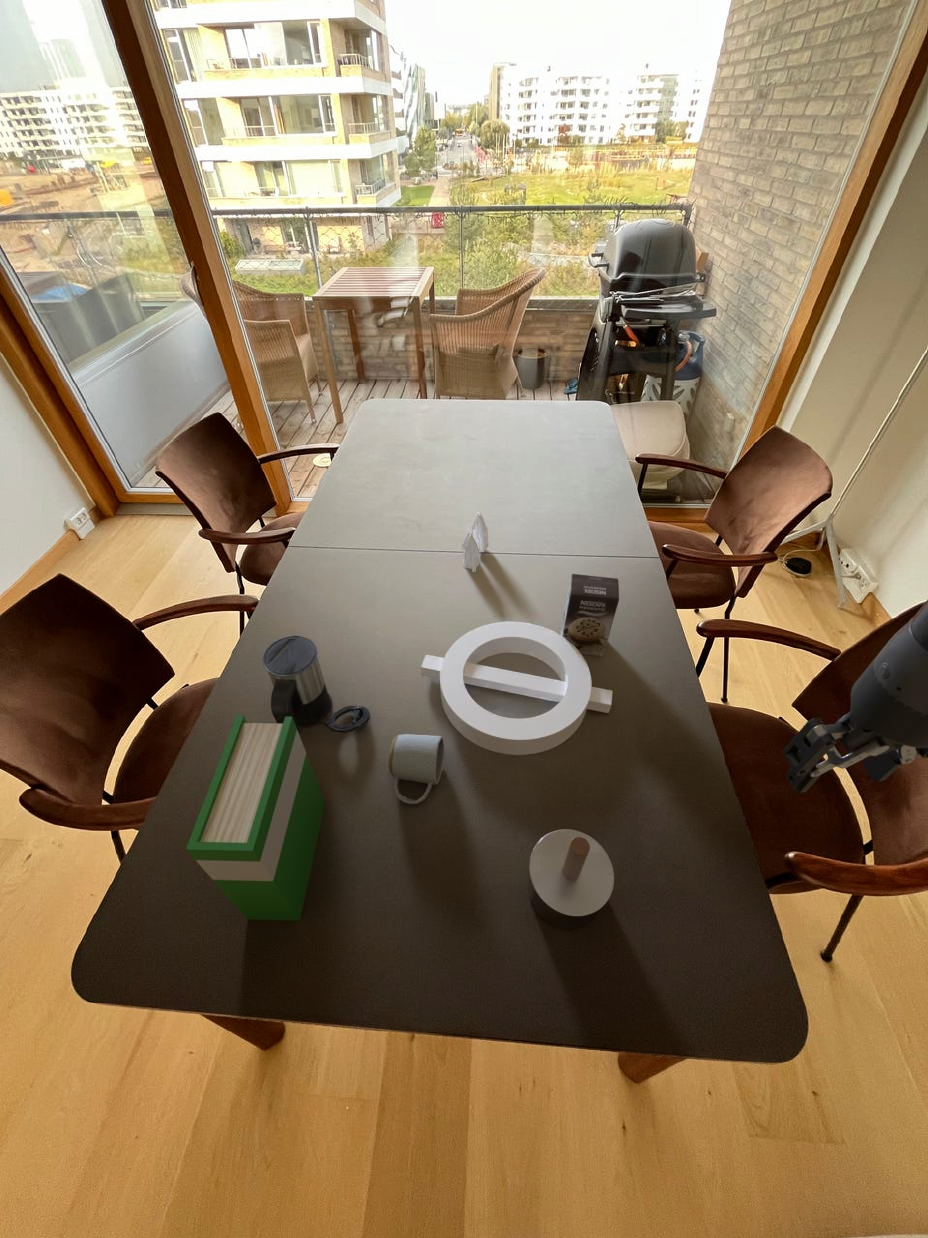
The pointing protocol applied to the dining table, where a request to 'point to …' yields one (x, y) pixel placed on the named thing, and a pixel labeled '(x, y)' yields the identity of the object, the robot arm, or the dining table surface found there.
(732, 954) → the dining table surface
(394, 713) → the dining table surface
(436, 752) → the ceramic mug
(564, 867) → the bowl lid
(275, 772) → the hardback book
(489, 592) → the dining table surface
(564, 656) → the ring with crossbar
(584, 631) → the coffee box
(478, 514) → the shaker set
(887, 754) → the robot arm
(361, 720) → the milk frother
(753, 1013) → the dining table surface
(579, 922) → the bowl
